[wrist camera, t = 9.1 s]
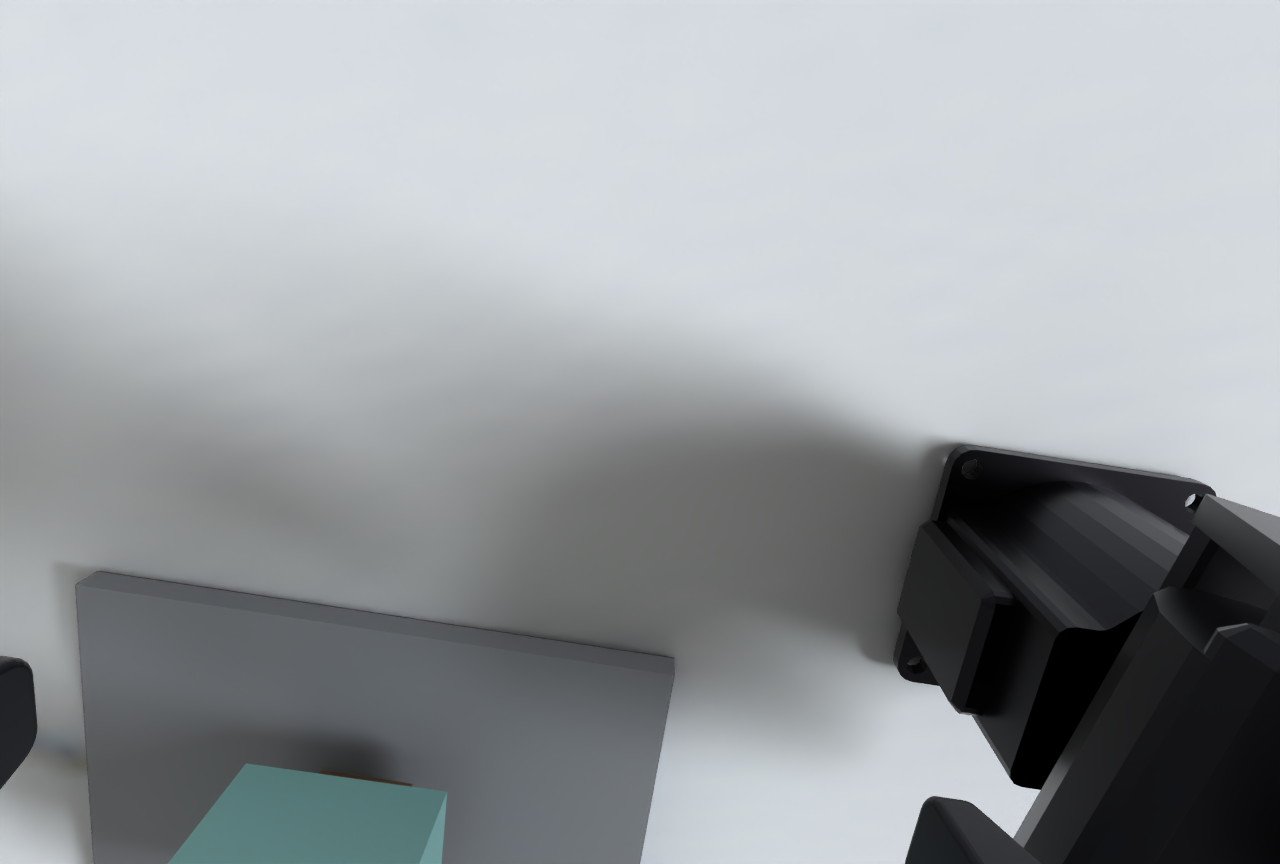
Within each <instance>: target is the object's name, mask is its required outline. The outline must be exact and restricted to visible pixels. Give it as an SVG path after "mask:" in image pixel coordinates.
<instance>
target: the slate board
mask: <svg viewBox="0 0 1280 864" xmlns="http://www.w3.org/2000/svg"><path fill="white" fill-rule="evenodd" d="M75 588H76V603H77V618H78V634H79V649H80V664H81V679H82V694H83V709H84V724H85V739H86V755H87V770H88V785H89V800H90V815H91V830H92V845H93V861H94V864H168V863H169V862H170V860H171V859H172V858H173V856H174V855H175V854H176V853H177V851H178V850H179V849H180V847H181V846H182V845H183V844H184V842H185V841H186V840H187V838H188V837H189V836H190V835H191V833H192V832H193V831H194V829H195V828H196V827H197V826H198V824H199V823H200V822H201V820H202V819H203V818H204V817H205V815H206V814H207V813H208V811H209V810H210V809H211V808H212V806H213V805H214V804H215V803H216V801H217V800H218V799H219V797H220V796H221V795H222V794H223V792H224V791H225V790H226V788H227V787H228V786H229V785H230V783H231V782H232V781H233V779H234V778H235V777H236V776H237V774H238V773H239V772H240V770H241V769H242V768H243V767H244V765H245V764H246V763H247V764H254V765H261V766H268V767H275V768H282V769H290V770H297V771H304V772H311V773H318V774H319V773H320V771H321V770H324V771H330V772H337V773H344V774H350V775H357V776H364V777H370V778H377V779H384V780H390V781H397V782H404V783H410V784H413V787H417V788H424V789H431V790H438V791H445V792H447V801H446V813H445V826H444V839H443V851H442V864H640V861H641V855H642V850H643V844H644V839H645V833H646V828H647V823H648V817H649V812H650V806H651V801H652V795H653V790H654V784H655V779H656V773H657V768H658V762H659V757H660V752H661V746H662V741H663V735H664V730H665V724H666V719H667V713H668V708H669V702H670V697H671V692H672V686H673V681H674V658H668V657H662V656H655V655H648V654H642V653H635V652H629V651H622V650H615V649H609V648H602V647H595V646H589V645H582V644H576V643H569V642H562V641H556V640H549V639H543V638H536V637H529V636H523V635H516V634H509V633H503V632H496V631H490V630H483V629H476V628H470V627H463V626H456V625H450V624H443V623H437V622H430V621H423V620H417V619H410V618H403V617H397V616H390V615H384V614H377V613H370V612H364V611H357V610H350V609H344V608H337V607H331V606H324V605H317V604H311V603H304V602H297V601H291V600H284V599H278V598H271V597H264V596H258V595H251V594H244V593H238V592H231V591H225V590H218V589H211V588H205V587H198V586H191V585H185V584H178V583H172V582H165V581H158V580H152V579H145V578H139V577H132V576H125V575H119V574H112V573H105V572H99V571H97V572H95V573H94V574H92V575H91V576H89V577H87V578H86V579H84V580H82V581H81V582H79V583H78V584H76V585H75Z"/></svg>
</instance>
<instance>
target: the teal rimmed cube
mask: <svg viewBox="0 0 1280 864" xmlns="http://www.w3.org/2000/svg"><path fill="white" fill-rule="evenodd" d="M446 801H447V792H445V791H438V790H431V789H424V788H417V787H410V786H403V785H396V784H389V783H382V782H374V781H367V780H360V779H353V778H346V777H339V776H332V775H325V774H318V773H311V772H304V771H297V770H290V769H282V768H275V767H268V766H261V765H254V764H247V763H246V764H245V765H244V767H243V768H242V769H241V770H240V772H239V773H238V774H237V776H236V777H235V778H234V779H233V781H232V782H231V783H230V785H229V786H228V787H227V788H226V790H225V791H224V792H223V794H222V795H221V796H220V797H219V799H218V800H217V801H216V803H215V804H214V805H213V806H212V808H211V809H210V810H209V811H208V813H207V814H206V815H205V817H204V818H203V819H202V820H201V822H200V823H199V824H198V826H197V827H196V828H195V829H194V831H193V832H192V833H191V835H190V836H189V837H188V838H187V840H186V841H185V842H184V844H183V845H182V846H181V847H180V849H179V850H178V851H177V853H176V854H175V855H174V856H173V858H172V859H171V860H170V862H169V863H168V864H442V851H443V839H444V826H445V813H446Z"/></svg>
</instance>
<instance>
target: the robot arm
mask: <svg viewBox="0 0 1280 864" xmlns="http://www.w3.org/2000/svg"><path fill="white" fill-rule="evenodd" d="M973 459H976V460H977V466H976V468H975V469H974V471H972V472H971V473H969V474H962V467H963V465H964V463H965V462H967V461H969V460H973ZM1192 494H1195V500H1194V501H1193V503H1192V504H1190V505H1189V506H1187V507H1185V501H1186V500H1187V498H1188V497H1189V496H1191V495H1192ZM897 613H898V615H899V616H900V618H901V620H902V625H901V629H900V633H899V636H898V640H897V644H896V647H895V651H894V658H893V661H894V663H895V665H896V667H897V669H898V671H899V673H900V675H901V676H902V677H903V678H904V679H906V680H909V681H912V682H918V683H924V684H931V685H937V686H940V687H941V689H942V690H943V692H944V694H945V696H946V697H947V699H948V701H949V702H950V704H951V705H952V706H953V708H954V709H955V710H956V711H957V712H958V713H959V714H966V715H972V716H973V718H974V720H975V721H976V723H977V725H978V726H979V728H980V730H981V731H982V733H983V735H984V736H985V738H986V739H987V741H988V743H989V744H990V746H991V748H992V749H993V751H994V753H995V754H996V756H997V757H998V759H999V761H1000V762H1001V764H1002V766H1003V767H1004V769H1005V771H1006V772H1007V774H1008V775H1009V777H1010V779H1011V780H1012V781H1013V783H1014V784H1016V785H1018V786H1021V787H1026V788H1032V789H1039V790H1041V791H1040V793H1039V794H1038V796H1037V798H1036V800H1035V801H1034V803H1033V805H1032V807H1031V808H1030V810H1029V812H1028V814H1027V815H1026V817H1025V819H1024V821H1023V822H1022V824H1021V826H1020V828H1019V829H1018V831H1017V833H1016V835H1015V836H1014V838H1011V837H1010V836H1009V835H1008V834H1007V833H1006V832H1005V831H1003V830H1002V829H1001V828H1000V827H999V826H998V825H997V824H995V823H994V822H993V821H992V820H991V819H990V818H989V817H987V816H986V815H985V814H984V813H983V812H982V811H981V810H979V809H978V808H977V807H976V806H974V805H973V804H972V803H970V802H967V801H963V800H957V799H950V798H944V797H937V796H933V797H930V798H928V799H926V801H925V802H924V804H923V806H922V808H921V811H920V814H919V817H918V821H917V824H916V827H915V831H914V834H913V837H912V840H911V844H910V847H909V850H908V853H907V857H906V861H905V864H1280V517H1277V516H1274V515H1271V514H1268V513H1265V512H1262V511H1259V510H1256V509H1253V508H1250V507H1247V506H1244V505H1240V504H1237V503H1234V502H1231V501H1228V500H1225V499H1222V498H1219V497H1216V493H1215V491H1214V490H1213V489H1212V488H1211V487H1209V486H1207V485H1205V484H1203V483H1201V482H1199V481H1197V480H1194V479H1191V478H1184V477H1178V476H1171V475H1165V474H1158V473H1151V472H1145V471H1138V470H1132V469H1125V468H1119V467H1112V466H1105V465H1099V464H1092V463H1086V462H1079V461H1073V460H1066V459H1059V458H1053V457H1046V456H1040V455H1033V454H1027V453H1020V452H1013V451H1007V450H1000V449H994V448H987V447H981V446H974V445H963V446H961V447H959V448H956V449H955V450H954V451H953V452H952V453H951V454H950V455H949V457H948V459H947V461H946V464H945V468H944V472H943V475H942V479H941V483H940V486H939V490H938V494H937V497H936V501H935V505H934V508H933V512H932V516H931V519H930V520H928V521H926V522H925V523H924V524H923V525H921V526H920V527H919V530H918V534H917V538H916V541H915V545H914V549H913V552H912V556H911V560H910V564H909V567H908V571H907V575H906V578H905V582H904V586H903V590H902V593H901V597H900V601H899V604H898V608H897ZM913 657H921V658H922V659H921V660H920V662H919V663H917V664H915V665H908V664H907V663H908V662H909V660H910V659H912V658H913ZM36 734H37V716H36V705H35V693H34V682H33V673H32V669H31V667H30V666H29V664H28V663H27V662H26V661H24V660H22V659H19V658H13V657H7V656H0V789H1V788H2V787H3V785H4V784H5V783H6V782H7V780H8V779H9V778H10V777H11V775H12V774H13V773H14V772H15V770H16V769H17V768H18V767H19V766H20V764H21V763H22V762H23V761H24V759H25V758H26V756H27V755H28V753H29V752H30V750H31V748H32V746H33V744H34V741H35V738H36Z"/></svg>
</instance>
